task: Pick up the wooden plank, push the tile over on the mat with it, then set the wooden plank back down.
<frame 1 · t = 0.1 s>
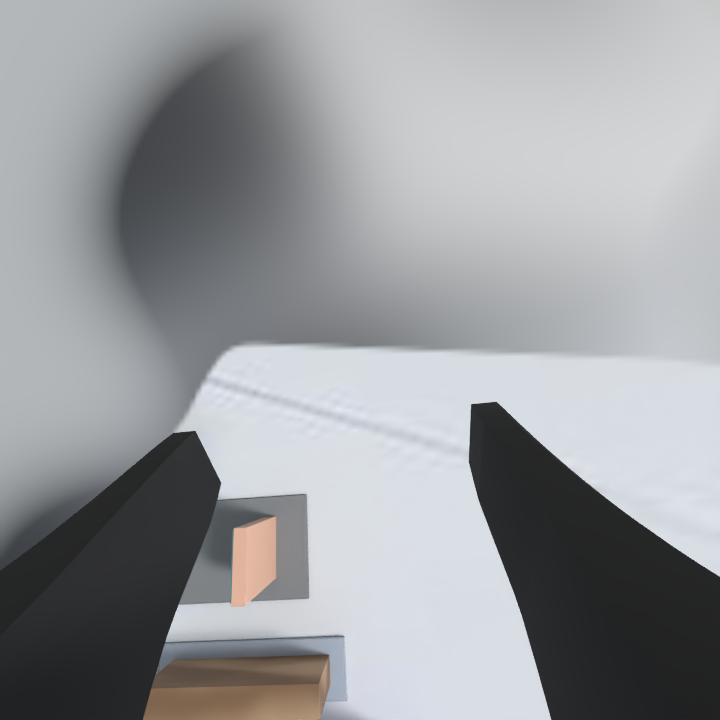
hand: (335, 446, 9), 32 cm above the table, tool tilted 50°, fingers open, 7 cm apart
paddle rest: (251, 669, 35), on the table
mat: (236, 548, 39), on the table
wooden plank: (249, 671, 35), resting on paddle rest
tile: (270, 546, 38), resting on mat
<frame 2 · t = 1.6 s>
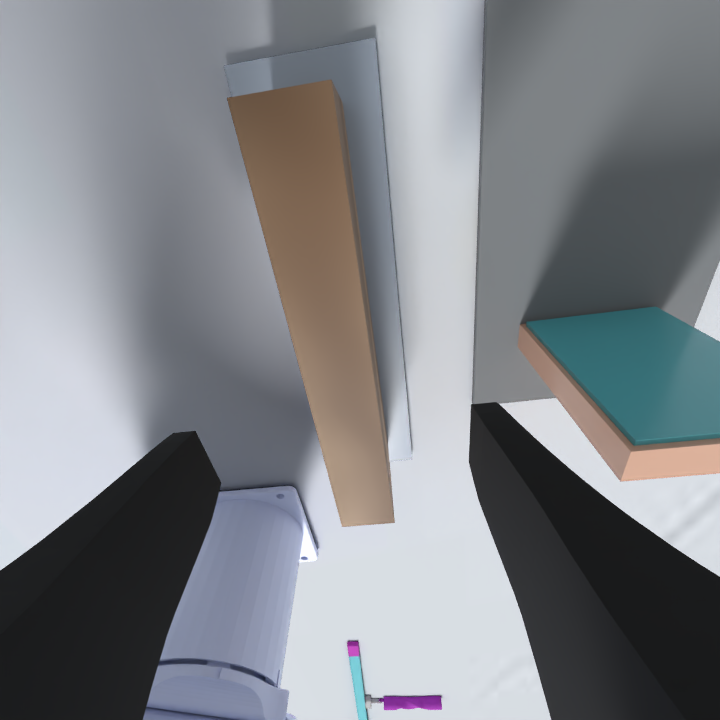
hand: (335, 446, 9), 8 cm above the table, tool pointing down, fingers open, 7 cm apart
paddle rest: (345, 315, 17), on the table
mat: (598, 239, 15), on the table
squeegee: (397, 684, 43), on the table
wooden plank: (345, 319, 16), resting on paddle rest
tile: (584, 328, 17), resting on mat
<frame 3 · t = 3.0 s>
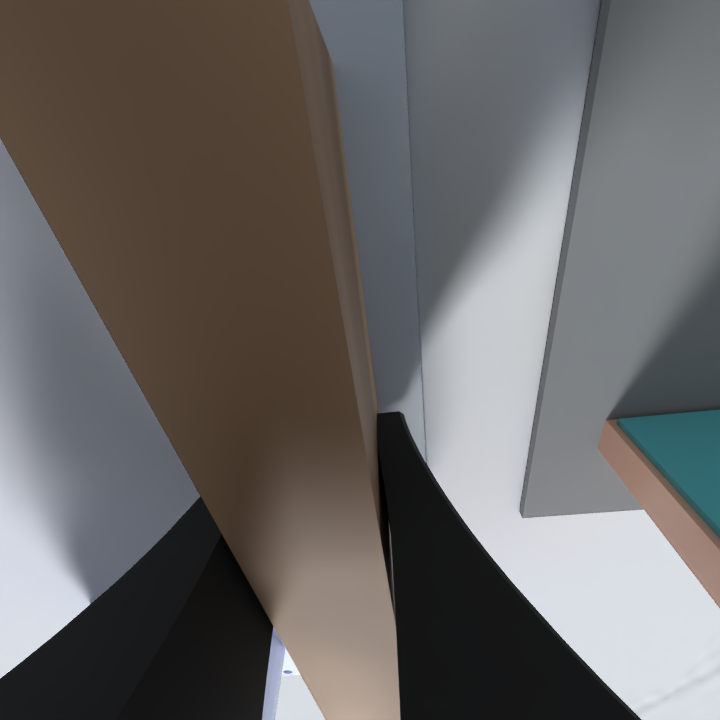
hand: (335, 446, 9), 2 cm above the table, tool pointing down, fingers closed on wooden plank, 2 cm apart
paddle rest: (339, 403, 11), on the table
wooden plank: (338, 412, 11), resting on paddle rest, touching gripper
tile: (703, 425, 11), resting on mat
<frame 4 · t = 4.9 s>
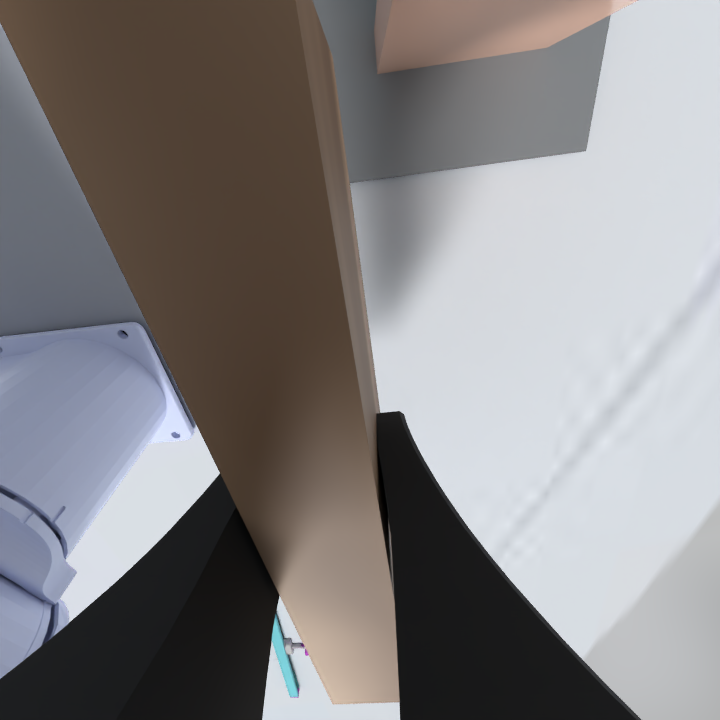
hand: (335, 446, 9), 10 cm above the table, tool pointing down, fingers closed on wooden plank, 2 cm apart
squeegee: (322, 628, 39), on the table
wooden plank: (338, 395, 11), point 8 cm above the table, touching gripper
tile: (461, 39, 12), resting on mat
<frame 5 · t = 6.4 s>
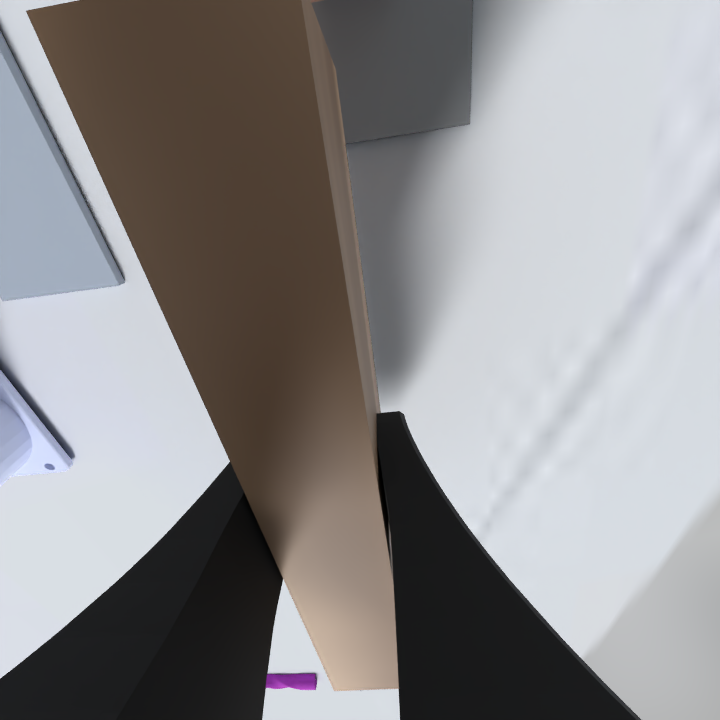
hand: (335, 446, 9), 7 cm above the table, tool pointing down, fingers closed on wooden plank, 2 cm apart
squeegee: (266, 659, 36), on the table
wooden plank: (340, 391, 11), point 5 cm above the table, touching gripper
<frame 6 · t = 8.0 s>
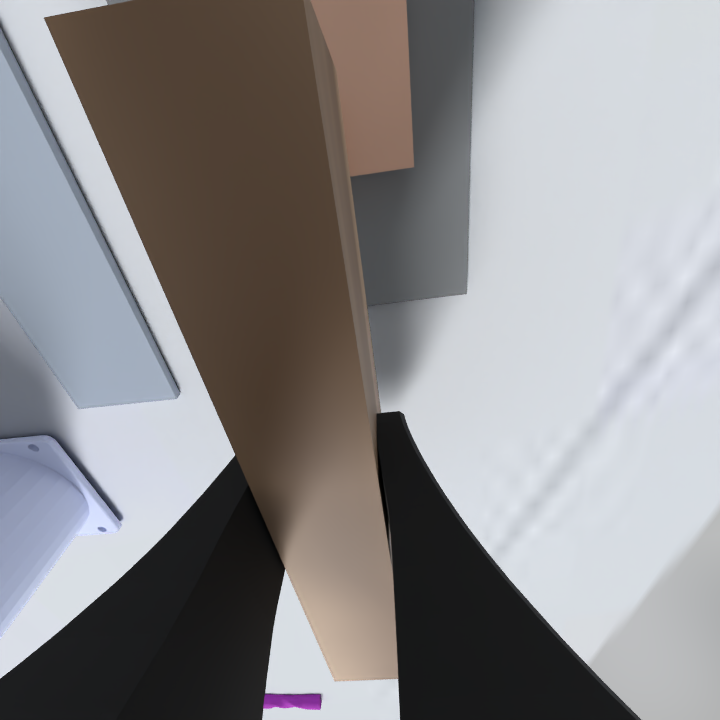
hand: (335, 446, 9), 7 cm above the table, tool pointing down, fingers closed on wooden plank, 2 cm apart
paddle rest: (6, 185, 12), on the table
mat: (300, 57, 11), on the table
squeegee: (275, 680, 39), on the table
wooden plank: (340, 387, 12), point 4 cm above the table, touching gripper
tile: (317, 180, 11), point 1 cm above the table, tilted 90°, touching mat
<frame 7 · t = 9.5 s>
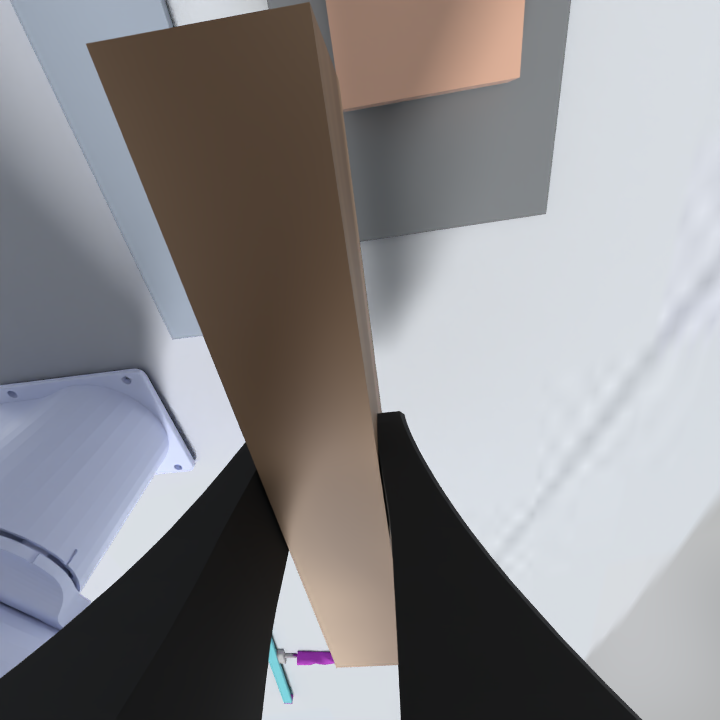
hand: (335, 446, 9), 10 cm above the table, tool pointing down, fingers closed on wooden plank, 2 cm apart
paddle rest: (135, 112, 14), on the table
squeegee: (313, 638, 40), on the table
wooden plank: (342, 383, 12), point 7 cm above the table, touching gripper
tile: (426, 95, 13), point 1 cm above the table, tilted 90°, touching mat
when the fingers open (3 cm above the table, at t = 11.8 s): wooden plank stays where it is, resting on paddle rest.
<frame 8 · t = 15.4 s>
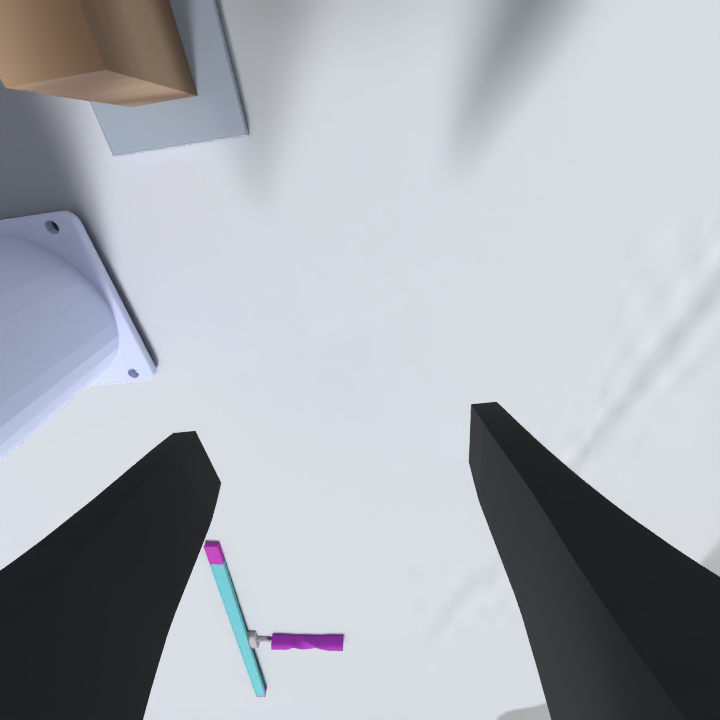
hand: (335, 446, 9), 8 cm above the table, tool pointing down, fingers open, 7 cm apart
squeegee: (292, 619, 35), on the table
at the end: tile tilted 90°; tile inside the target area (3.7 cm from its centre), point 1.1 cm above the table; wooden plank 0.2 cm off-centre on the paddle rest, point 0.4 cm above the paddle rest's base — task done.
